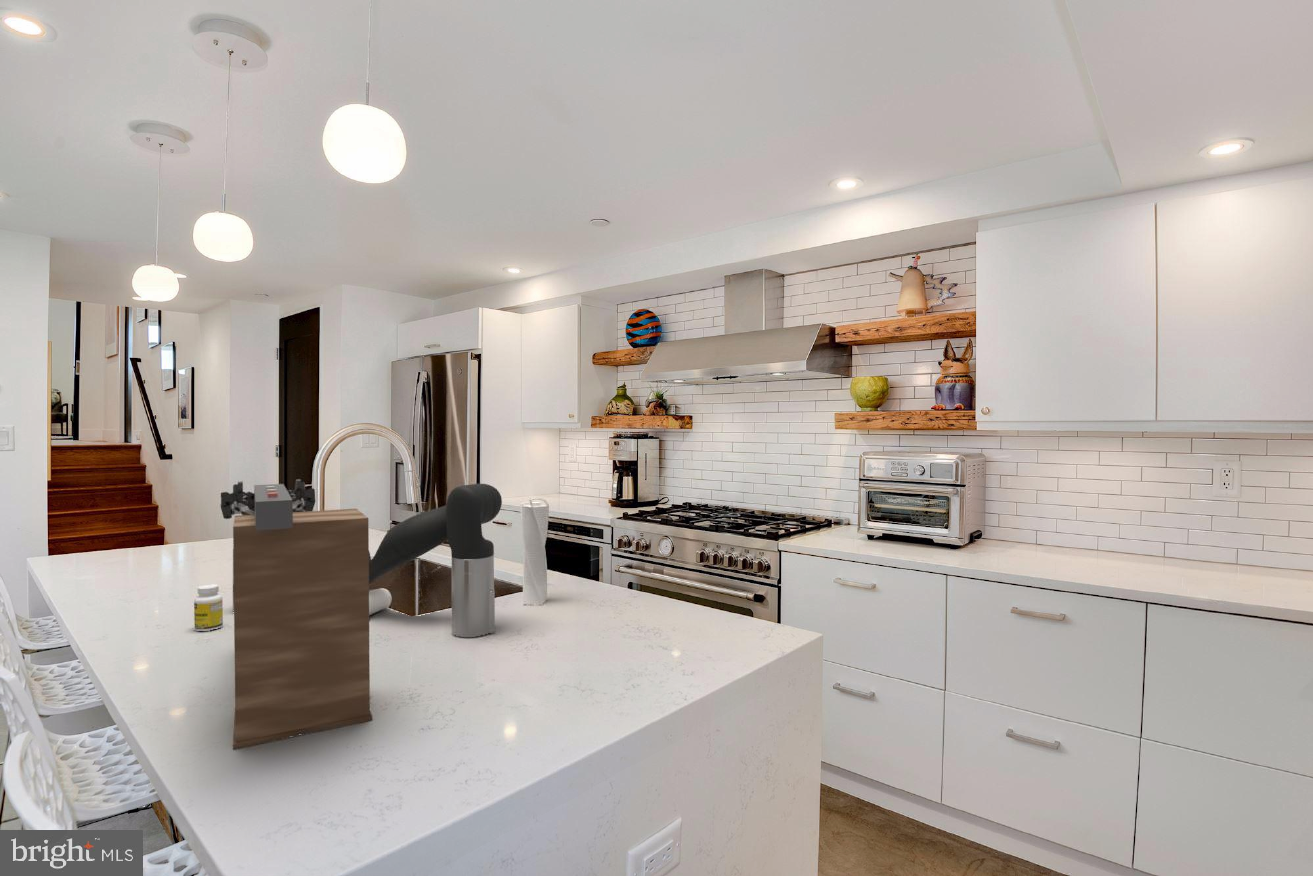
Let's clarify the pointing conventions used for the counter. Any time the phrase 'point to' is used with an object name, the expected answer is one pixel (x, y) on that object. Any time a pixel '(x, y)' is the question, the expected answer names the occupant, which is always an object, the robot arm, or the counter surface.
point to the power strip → (272, 507)
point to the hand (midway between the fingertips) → (269, 485)
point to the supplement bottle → (208, 608)
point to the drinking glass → (378, 600)
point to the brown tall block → (301, 625)
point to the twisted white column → (534, 551)
